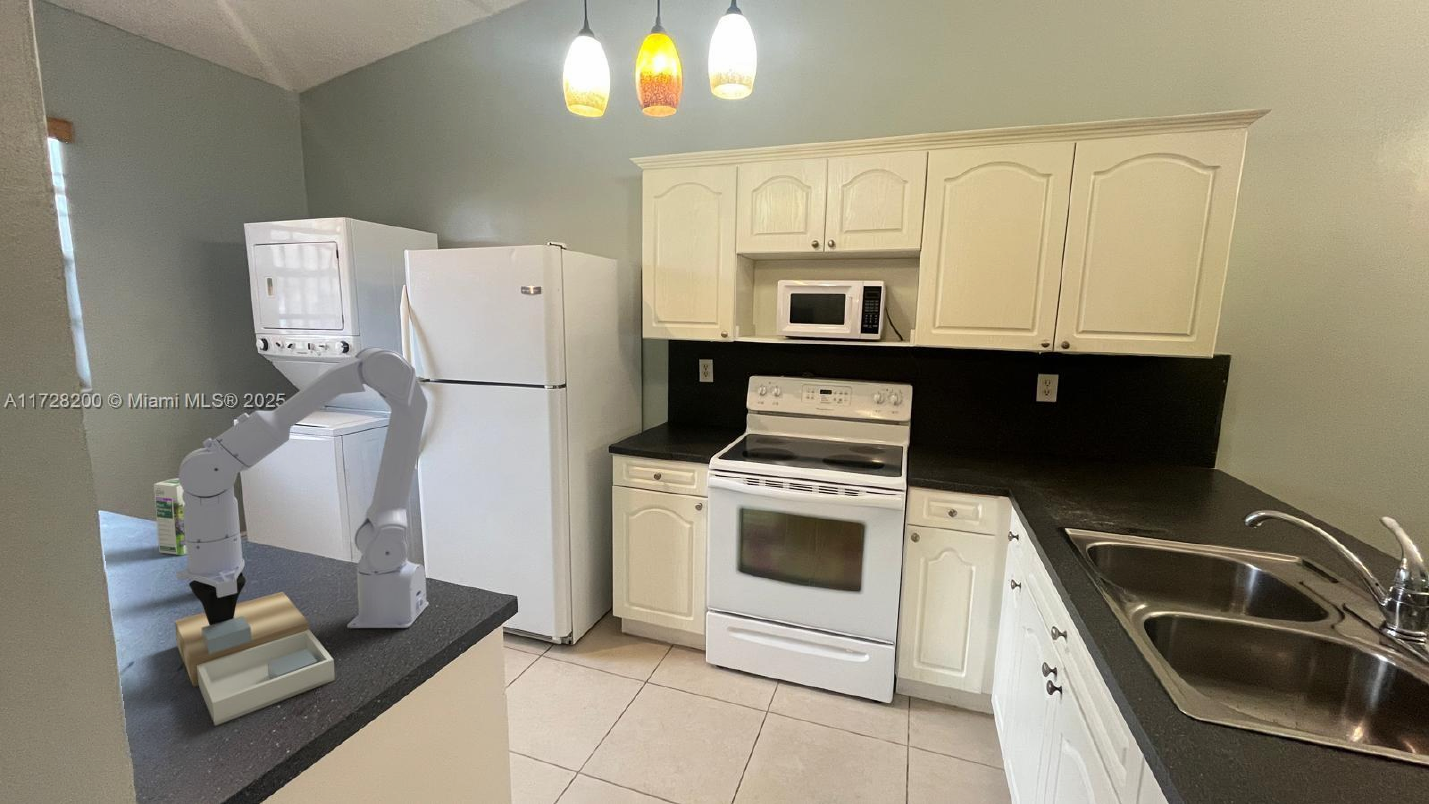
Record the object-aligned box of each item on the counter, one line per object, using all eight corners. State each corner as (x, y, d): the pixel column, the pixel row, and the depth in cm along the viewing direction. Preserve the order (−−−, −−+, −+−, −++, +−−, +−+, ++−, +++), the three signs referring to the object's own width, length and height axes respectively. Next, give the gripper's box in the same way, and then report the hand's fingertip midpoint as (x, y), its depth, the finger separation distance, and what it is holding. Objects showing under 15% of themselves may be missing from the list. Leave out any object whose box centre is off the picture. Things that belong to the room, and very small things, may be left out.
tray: (198, 686, 76) (196, 665, 76) (310, 648, 86) (309, 629, 85) (214, 726, 69) (212, 703, 69) (334, 680, 79) (333, 659, 78)
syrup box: (157, 553, 117) (150, 483, 115) (188, 542, 123) (182, 476, 121) (181, 556, 116) (174, 485, 114) (211, 545, 122) (205, 478, 120)
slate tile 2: (276, 675, 75) (278, 690, 75) (317, 661, 79) (318, 674, 79) (267, 662, 78) (268, 675, 78) (306, 648, 81) (307, 661, 82)
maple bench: (177, 646, 85) (174, 620, 85) (284, 614, 95) (282, 591, 95) (193, 687, 76) (190, 658, 76) (310, 647, 86) (308, 622, 86)
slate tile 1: (202, 641, 80) (201, 627, 80) (244, 629, 83) (242, 615, 83) (209, 654, 77) (207, 640, 77) (251, 640, 80) (250, 627, 80)
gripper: (166, 528, 82) (175, 619, 84) (182, 558, 72) (192, 659, 74) (231, 517, 87) (238, 602, 89) (253, 543, 78) (260, 638, 80)
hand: (221, 627), depth 82 cm, fingers closed
